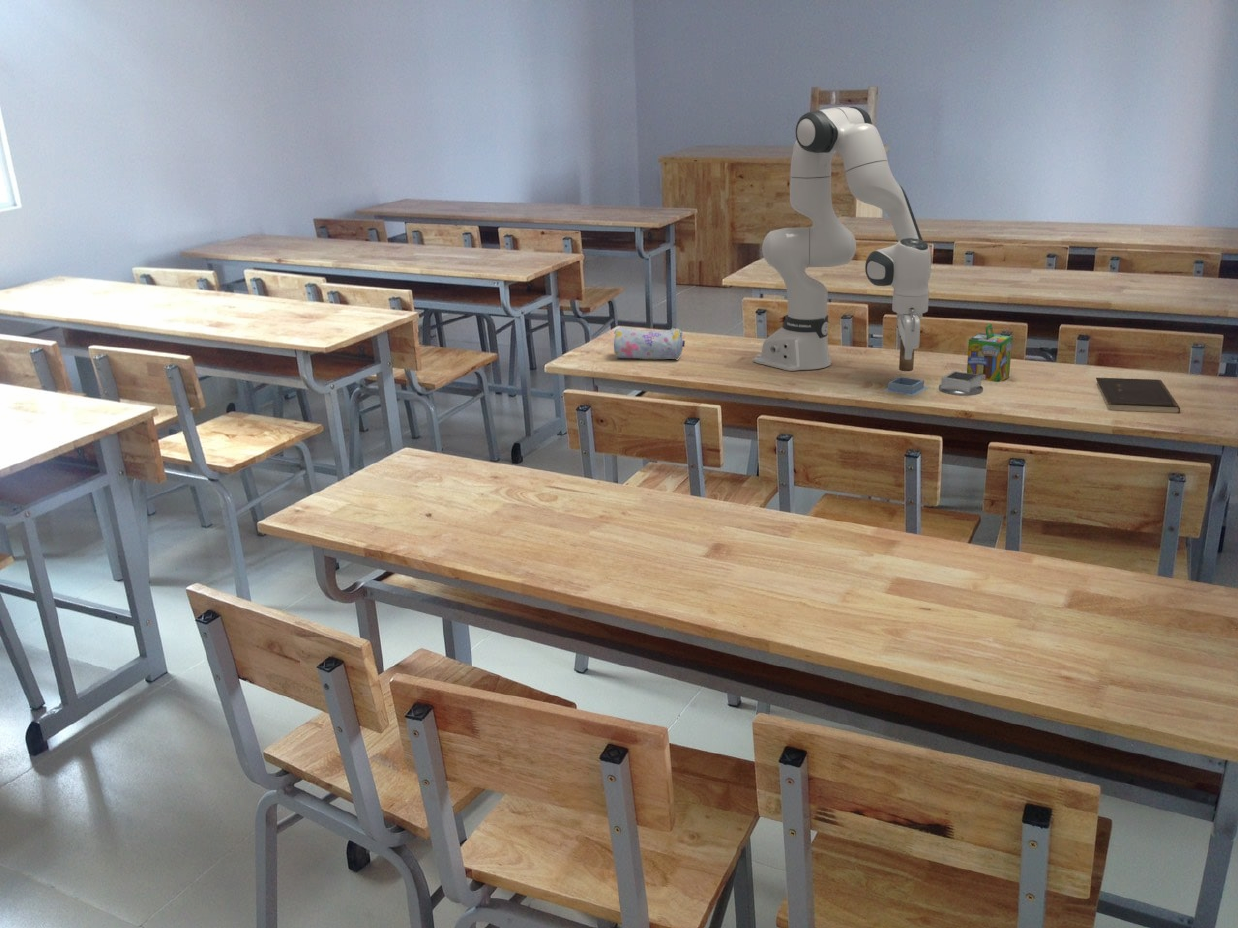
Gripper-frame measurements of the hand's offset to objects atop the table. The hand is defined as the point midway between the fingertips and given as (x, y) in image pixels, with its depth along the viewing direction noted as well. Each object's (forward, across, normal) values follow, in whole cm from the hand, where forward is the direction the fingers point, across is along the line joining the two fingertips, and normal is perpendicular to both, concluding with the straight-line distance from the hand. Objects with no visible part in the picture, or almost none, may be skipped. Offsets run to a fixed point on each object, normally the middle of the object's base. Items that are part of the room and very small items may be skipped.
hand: (906, 356), depth 281 cm
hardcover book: (+10, -4, -56) cm, 57 cm away
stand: (+10, -1, 0) cm, 10 cm away
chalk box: (+10, +12, -23) cm, 28 cm away
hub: (+10, -1, -14) cm, 17 cm away
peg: (+4, 0, 0) cm, 4 cm away
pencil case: (+11, +32, +72) cm, 79 cm away
